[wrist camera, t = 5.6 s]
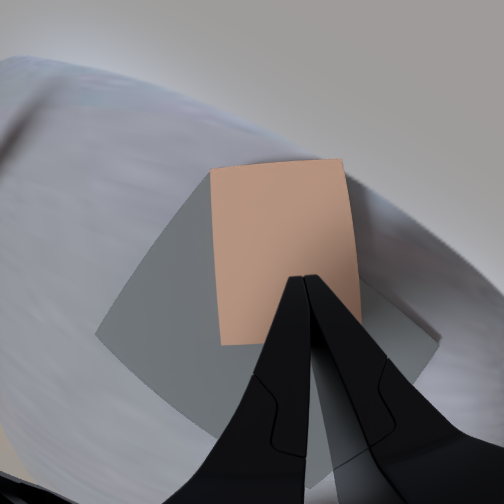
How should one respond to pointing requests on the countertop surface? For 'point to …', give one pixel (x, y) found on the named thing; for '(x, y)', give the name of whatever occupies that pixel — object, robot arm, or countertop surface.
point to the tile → (279, 240)
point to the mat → (208, 332)
